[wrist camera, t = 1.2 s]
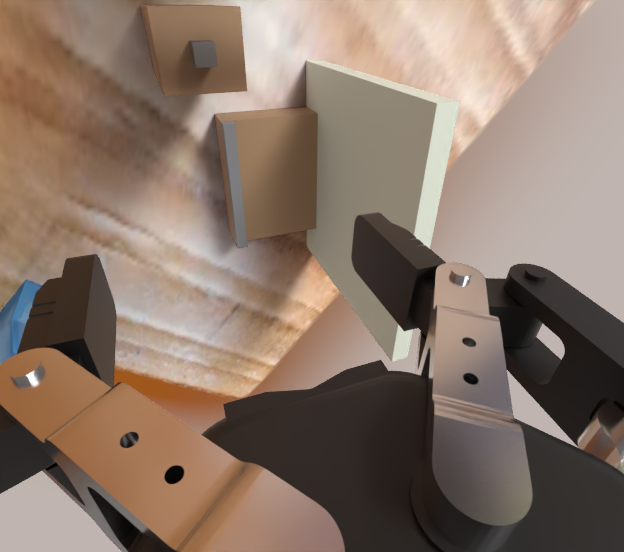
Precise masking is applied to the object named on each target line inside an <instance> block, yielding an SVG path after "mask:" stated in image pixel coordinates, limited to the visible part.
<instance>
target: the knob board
mask: <svg viewBox="0 0 624 552" xmlns="http://www.w3.org/2000/svg"><path fill="white" fill-rule="evenodd" d="M141 10H142V15H143V20H144V25H145V30H146V35H147V40H148V45H149V50H150V55H151V60H152V65H153V70H154V72H155V75H156V77H157V80H158V82H159V84H160V87H161V89H162V92H163V94H164V96H176V95H192V94H208V93H224V92H240V91H247V85H246V73H245V61H244V48H243V36H242V24H241V12H240V7H238V6H214V5H141Z"/></svg>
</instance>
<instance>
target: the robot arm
mask: <svg viewBox="0 0 624 552" xmlns="http://www.w3.org/2000/svg"><path fill="white" fill-rule="evenodd" d="M351 259H352V264H353V267H354V270H355V271H356V273H357V274H358V275H359V276H360V278H361V279H362V280H363V281H364V283H365V284H366V285H367V286H368V288H369V289H370V290H371V291H372V292H373V294H374V295H375V296H376V297H377V299H378V300H379V301H380V302H381V304H382V305H383V306H384V307H385V309H386V310H387V311H388V312H389V313H390V315H391V316H392V317H393V318H394V320H395V321H396V322H397V323H398V325H399V326H400V327H401V328H402V329H403V331H408V330H412V329H415V328H419V329H420V330H421V332H420V336H419V342H418V351H417V361H416V370H415V374H413V373H408V372H402V371H388V370H387V368H386V367H385V365H384V364H383V362H382V361H381V360H379V361H376V362H372V363H368V364H365V365H361V366H357V367H354V368H350V369H347V370H345V371H343V372H341V373H339V374H337V375H336V376H334V377H332V378H330V379H329V380H327V381H325V382H324V383H321V384H320V385H318V386H316V387H314V388H312V389H308V390H292V391H277V392H265V393H262V394H258V395H254V396H251V397H247V398H243V399H240V400H236V401H233V402H229V403H226V404H224V410H225V416H226V418H224V419H222V420H220V421H219V422H217V423H216V424H214V425H213V426H211V427H210V428H208V429H207V430H206V431H205V432H204V433H203V434H199V433H198V432H197V431H195V430H194V429H192V428H191V427H189V426H187V425H186V424H185V423H183V422H182V421H180V420H179V419H177V418H175V416H173V415H172V414H170V413H169V412H167V411H166V410H164V409H163V408H161V407H160V406H158V405H157V404H155V403H154V402H152V401H151V400H149V399H148V398H147V397H145V396H144V395H142V394H141V393H139V392H137V391H136V390H135V389H133V388H132V387H130V386H129V385H127V384H125V383H121V382H120V383H118V384H116V385H115V386H114V365H115V340H116V309H115V304H114V300H113V297H112V294H111V291H110V288H109V285H108V282H107V279H106V276H105V273H104V270H103V267H102V264H101V261H100V259H99V257H98V255H97V254H94V255H87V256H80V257H74V258H67V259H66V261H65V265H64V269H63V274H62V277H61V278H55V279H49V280H47V281H46V282H45V284H44V285H43V286H42V287H41V288H40V289H39V290H38V291H37V292H36V294H35V297H34V300H33V303H32V308H31V310H30V313H29V319H27V322H26V326H25V329H24V332H23V335H22V338H21V342H20V345H19V348H18V351H17V354H16V355H14V356H13V357H11V358H9V359H7V360H6V361H4V362H3V363H2V364H0V494H1V493H2V492H4V491H6V490H8V489H9V488H11V487H13V486H15V485H17V484H19V483H20V482H22V481H24V480H26V479H28V478H29V477H31V476H33V475H35V474H36V473H38V472H40V471H43V472H44V473H45V474H46V475H48V476H49V477H50V478H51V479H52V480H53V481H54V482H55V483H56V484H57V485H58V486H59V487H60V488H61V489H62V490H63V491H64V492H65V493H66V494H67V495H68V496H69V497H71V498H72V499H73V500H74V501H75V502H76V503H77V504H78V505H79V506H80V507H81V508H82V509H83V510H84V511H85V512H86V513H87V514H88V515H89V516H90V517H91V518H92V519H93V520H94V521H95V522H96V523H97V525H98V526H99V527H100V528H101V530H102V531H103V532H104V533H105V534H106V536H107V537H108V538H109V539H110V540H111V541H112V542H113V543H114V544H115V545H116V546H117V547H118V548H119V549H120V550H121V551H122V552H624V323H623V322H621V321H620V320H619V319H617V318H616V317H614V316H613V315H612V314H610V313H609V312H607V311H606V310H605V309H603V308H601V307H600V306H599V305H597V304H596V303H595V302H593V301H592V300H591V299H589V298H588V297H586V296H585V295H583V294H582V293H581V292H579V291H578V290H577V289H575V288H574V287H572V286H571V285H570V284H568V283H567V282H565V281H564V280H562V279H561V278H560V277H558V276H557V275H555V274H554V273H553V272H551V271H549V270H547V269H545V268H543V267H540V266H536V265H531V264H517V265H514V266H512V267H511V268H510V270H509V273H508V275H507V278H506V279H488V278H485V277H484V275H483V274H482V273H481V272H480V271H478V270H477V269H475V268H473V267H471V266H469V265H465V264H462V263H446V262H444V261H443V260H442V259H441V258H440V257H439V256H438V255H436V254H435V253H434V252H433V251H432V250H430V249H429V248H428V247H427V246H426V245H424V244H423V243H422V242H421V241H420V240H419V239H416V237H415V236H414V235H413V234H412V233H411V232H409V231H408V230H407V229H405V228H402V227H400V226H398V225H396V224H392V223H391V222H390V221H389V220H388V219H387V218H385V217H384V216H383V215H382V214H381V213H379V212H376V213H369V214H363V215H358V216H357V217H356V219H355V223H354V233H353V243H352V253H351ZM542 323H543V324H544V325H545V326H547V327H548V328H549V329H550V330H551V331H552V332H553V333H555V334H556V335H557V336H558V337H559V338H560V339H561V340H562V342H563V344H564V347H565V354H564V357H563V358H562V360H561V359H560V358H558V357H557V356H556V355H555V354H554V353H553V352H552V351H551V350H550V349H549V348H547V347H546V346H545V345H544V344H543V343H542V342H541V341H540V340H539V339H538V338H537V337H536V336H537V333H538V332H539V330H540V327H541V325H542ZM507 370H508V371H509V372H510V373H511V374H512V375H513V377H514V378H515V379H516V380H517V381H518V382H519V383H520V384H521V385H522V386H523V387H524V389H525V390H526V391H527V392H528V393H529V394H530V395H531V396H532V397H533V398H534V399H535V401H536V402H537V403H539V405H540V406H541V407H542V408H543V409H544V410H545V411H546V412H547V414H548V415H550V417H551V418H552V419H553V420H554V421H555V422H556V423H557V425H558V426H559V427H560V428H561V429H562V430H563V431H564V432H565V433H566V434H567V435H568V436H569V438H570V439H571V440H572V441H573V442H574V443H575V444H576V445H577V446H578V448H577V447H575V446H573V445H571V444H568V443H566V442H564V441H562V440H560V439H558V438H556V437H553V436H551V435H549V434H547V433H545V432H543V431H541V430H538V429H536V428H534V427H532V426H530V425H528V424H525V423H523V422H521V421H519V420H517V419H515V418H514V416H513V410H512V404H511V396H510V389H509V383H508V376H507Z"/></svg>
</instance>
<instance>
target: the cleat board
mask: <svg viewBox="0 0 624 552" xmlns="http://www.w3.org/2000/svg"><path fill="white" fill-rule="evenodd" d="M459 104H460V101H456V100H453V99H450V98H446V97H443V96H440V95H436V94H433V93H430V92H426V91H423V90H420V89H416V88H413V87H410V86H406V85H403V84H400V83H396V82H393V81H390V80H386V79H383V78H380V77H376V76H373V75H370V74H366V73H363V72H360V71H356V70H353V69H350V68H346V67H343V66H340V65H336V64H333V63H329V62H326V61H323V60H310V61H306V107H296V108H283V109H270V110H258V111H245V112H232V113H219V114H215V122H216V129H217V137H218V145H219V153H220V160H221V168H222V176H223V184H224V191H225V199H226V207H227V215H228V222H229V230H230V232H231V234H232V237H233V239H234V241H235V243H236V245H237V248H244V247H248V245H247V241H249V240H255V239H260V238H266V237H272V236H277V235H283V234H288V233H294V232H299V231H305V230H307V248H308V249H309V251H310V252H311V253H312V255H313V256H314V257H315V259H316V260H317V261H318V263H319V264H320V265H321V267H322V268H323V269H324V271H325V272H326V274H327V275H328V276H329V278H330V279H331V280H332V282H333V283H334V284H335V286H336V287H337V288H338V290H339V291H340V292H341V294H342V295H343V297H344V298H345V299H346V301H347V302H348V303H349V305H350V306H351V307H352V309H353V310H354V311H355V312H356V314H357V315H358V317H359V318H360V320H361V321H362V322H363V323H364V325H365V326H366V328H367V329H368V330H369V332H370V333H371V334H372V336H373V337H374V338H375V340H376V341H377V342H378V344H379V345H380V346H381V348H382V349H383V351H384V352H385V353H386V355H387V356H388V357H389V359H390V360H391V361H392V362H393V361H396V360H400V359H403V358H406V357H407V356H408V351H409V346H410V341H411V337H412V332H413V329H412V330H408V331H403V329H402V328H401V327H400V326H399V325H398V323H397V322H396V321H395V320H394V318H393V317H392V316H391V315H390V313H389V312H388V311H387V310H386V309H385V307H384V306H383V305H382V304H381V302H380V301H379V300H378V299H377V297H376V296H375V295H374V294H373V292H372V291H371V290H370V289H369V288H368V286H367V285H366V284H365V283H364V281H363V280H362V279H361V278H360V276H359V275H358V274H357V273H356V271H355V270H354V267H353V264H352V259H351V253H352V243H353V233H354V223H355V219H356V217H357V216H358V215H363V214H369V213H376V212H379V213H381V214H382V215H383V216H384V217H385V218H387V219H388V220H389V221H390V222H391V223H392V224H396V225H398V226H400V227H402V228H405V229H407V230H408V231H409V232H411V233H412V234H413V235H414V236H415V237H416V239H419V240H420V241H421V242H422V243H423V244H424V245H426V246H427V247H428V248H429V249H430V244H431V239H432V235H433V230H434V225H435V220H436V215H437V211H438V205H439V200H440V195H441V191H442V186H443V181H444V176H445V172H446V167H447V162H448V157H449V152H450V147H451V143H452V138H453V133H454V128H455V123H456V118H457V113H458V109H459Z"/></svg>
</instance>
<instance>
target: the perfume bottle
mask: <svg viewBox="0 0 624 552" xmlns="http://www.w3.org/2000/svg"><path fill="white" fill-rule="evenodd" d="M41 287H42V286H41V285H39V284H36V283H34V282H31V281H29V280H27V279H26V280H25V282H24V283H23V284H22V286H21V287H20V288H19V289H18V291H17V292H16V293H15V294H14V296H13V297H12V298H11V299H10V301H9V302H8V303H7V304H6V306H5V307H4V308H3V310H2V311H1V312H0V364H2V363H3V362H4V361H6V360H7V359H9V358H11V357H13V356H14V355H16V354H17V351H18V348H19V345H20V342H21V338H22V335H23V332H24V329H25V326H26V322H27V319H29V313H30V310H31V308H32V303H33V300H34V297H35V294H36V292H37V291H38V290H39V289H40V288H41Z"/></svg>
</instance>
